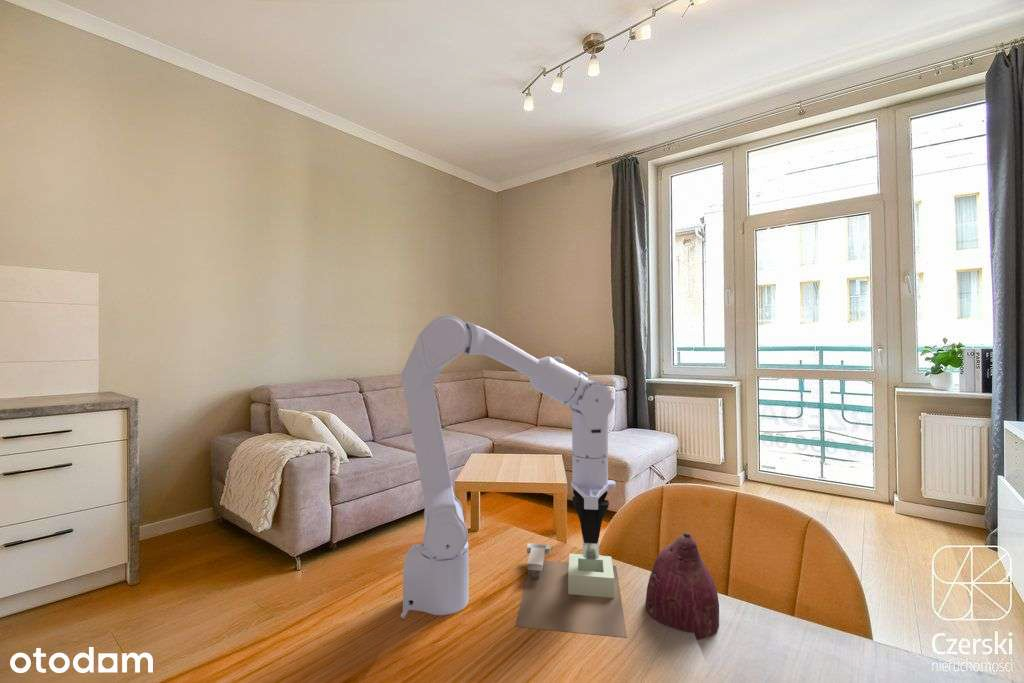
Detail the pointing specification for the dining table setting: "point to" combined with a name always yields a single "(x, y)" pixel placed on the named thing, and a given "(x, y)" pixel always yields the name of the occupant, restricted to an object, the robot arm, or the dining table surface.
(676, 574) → the vegetable
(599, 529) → the robot arm
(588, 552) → the pin
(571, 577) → the square hollow frame
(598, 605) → the board
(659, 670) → the dining table surface
